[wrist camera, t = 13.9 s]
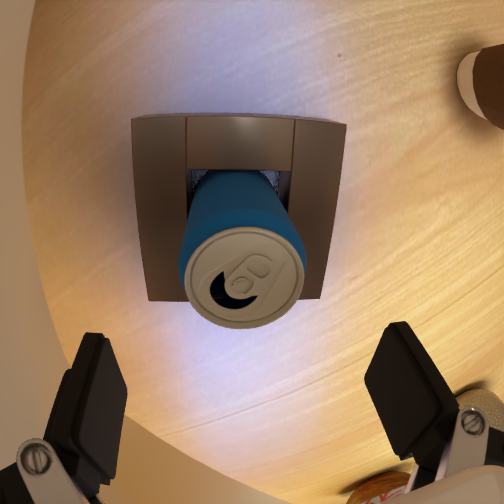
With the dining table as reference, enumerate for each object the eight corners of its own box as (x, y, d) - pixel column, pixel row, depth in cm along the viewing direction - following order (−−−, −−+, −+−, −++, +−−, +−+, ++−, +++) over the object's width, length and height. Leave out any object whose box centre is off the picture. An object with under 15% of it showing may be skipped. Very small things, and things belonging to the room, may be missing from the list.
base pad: (156, 275, 28) (148, 301, 24) (145, 115, 21) (131, 118, 17) (308, 273, 29) (320, 299, 26) (328, 119, 22) (347, 124, 19)
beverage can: (177, 205, 25) (148, 291, 14) (230, 144, 23) (238, 188, 12) (237, 250, 27) (249, 352, 17) (289, 196, 25) (339, 274, 15)
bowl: (321, 493, 66) (327, 515, 59) (400, 456, 59) (409, 480, 52) (359, 495, 76) (365, 513, 69) (424, 463, 69) (432, 481, 62)
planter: (485, 399, 53) (516, 454, 37) (415, 443, 57) (440, 503, 40) (494, 359, 44) (540, 427, 27) (408, 415, 47) (443, 495, 30)
